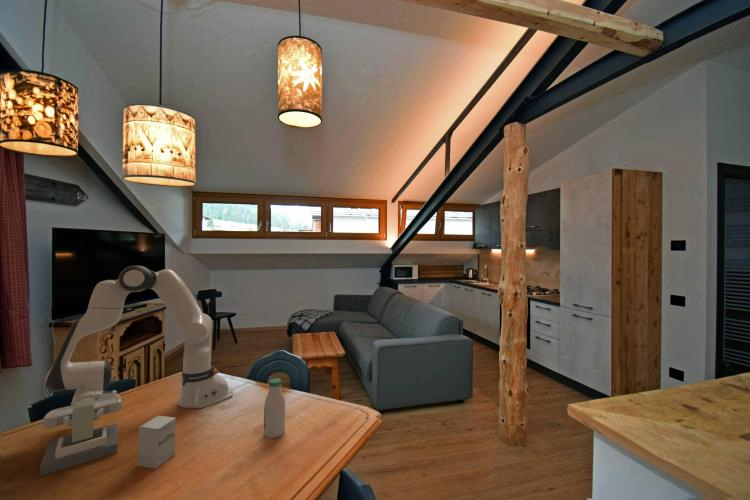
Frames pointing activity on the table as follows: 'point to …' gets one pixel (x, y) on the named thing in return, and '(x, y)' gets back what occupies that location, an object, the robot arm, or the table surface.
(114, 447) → the dock
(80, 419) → the pale green footed pillar
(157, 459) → the supplement box
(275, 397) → the milk bottle
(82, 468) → the table surface
